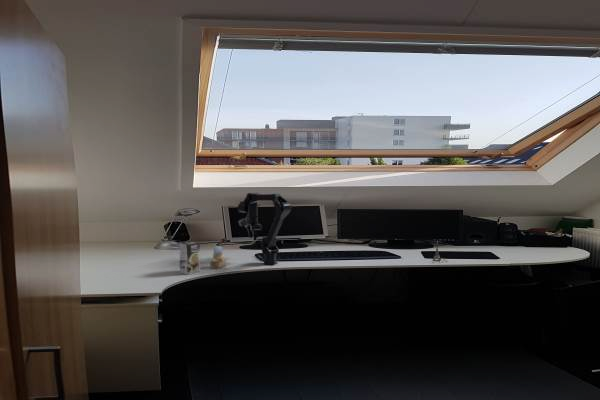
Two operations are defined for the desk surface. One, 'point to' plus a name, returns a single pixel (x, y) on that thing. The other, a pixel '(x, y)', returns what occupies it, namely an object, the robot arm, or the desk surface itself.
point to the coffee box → (189, 257)
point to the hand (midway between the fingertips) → (252, 239)
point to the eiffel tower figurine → (438, 256)
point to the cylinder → (217, 249)
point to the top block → (218, 257)
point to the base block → (218, 264)
